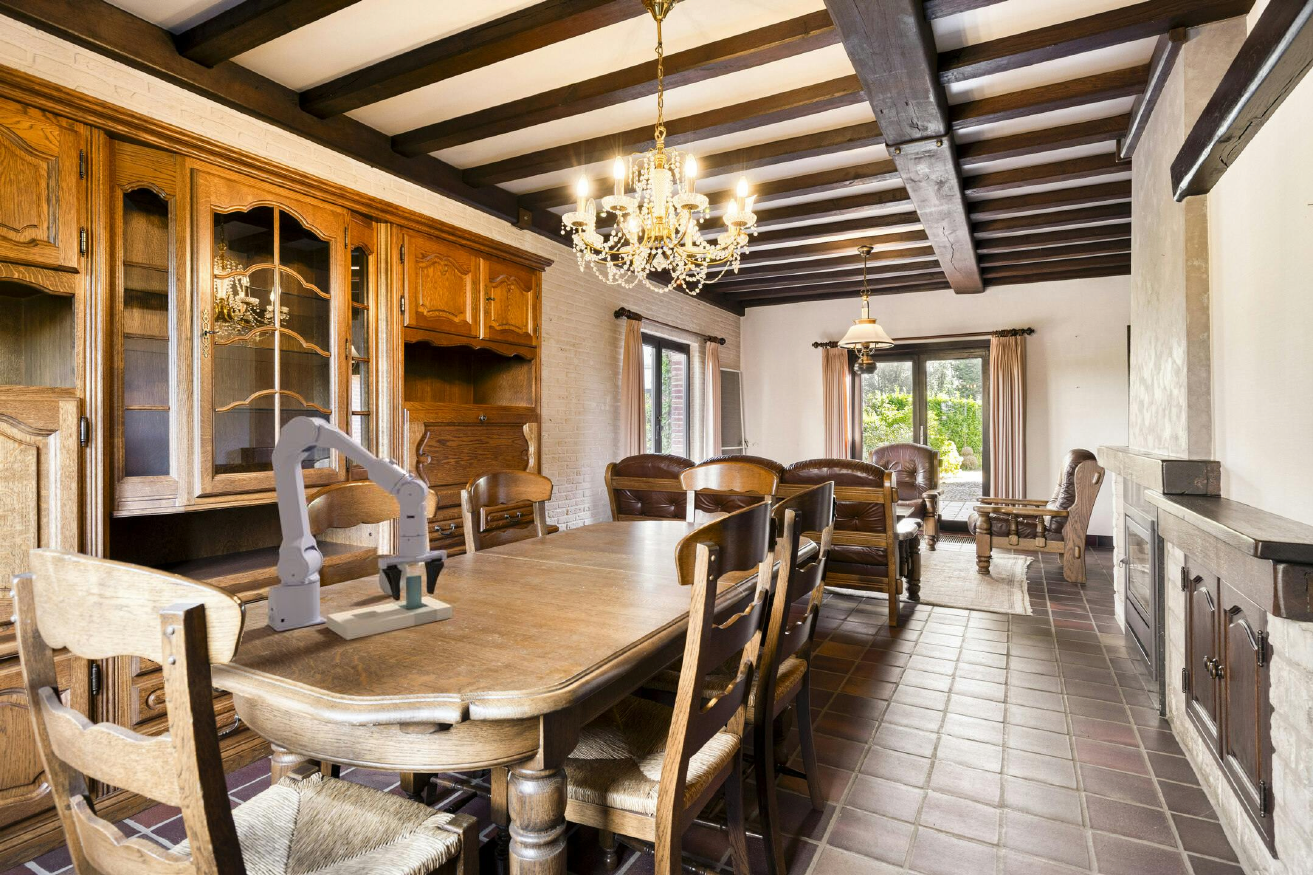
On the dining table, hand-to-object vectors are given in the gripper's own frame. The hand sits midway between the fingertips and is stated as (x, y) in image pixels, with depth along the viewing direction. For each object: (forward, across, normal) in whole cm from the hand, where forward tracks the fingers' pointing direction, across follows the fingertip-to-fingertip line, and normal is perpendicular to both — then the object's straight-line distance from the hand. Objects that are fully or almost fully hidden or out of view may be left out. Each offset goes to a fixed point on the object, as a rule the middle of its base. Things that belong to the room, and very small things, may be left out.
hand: (413, 596), depth 144 cm
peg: (+5, 0, 0) cm, 5 cm away
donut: (+5, +5, +23) cm, 24 cm away
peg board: (+5, -5, 0) cm, 7 cm away
